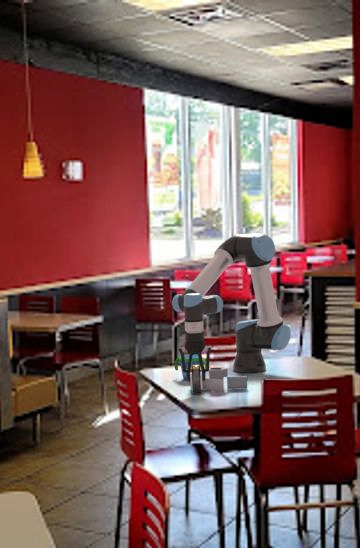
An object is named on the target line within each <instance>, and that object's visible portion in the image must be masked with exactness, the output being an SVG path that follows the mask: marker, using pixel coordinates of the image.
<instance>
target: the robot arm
mask: <svg viewBox="0 0 360 548" xmlns="http://www.w3.org/2000/svg"><path fill="white" fill-rule="evenodd" d="M213 252H214V254H213V257H211V259H210V261H208V263H207V264H206V265H205V266H204V268H203V269H202V270H201V271H200V272H199V273H198V275H197V276H196V278H195V279H193V281H192V283H190V284H189V286H188V287H187V289H185V290H184V292H183V293H182V294H181V293H180V294H179V293H178V294H175V295H174V296H173V298H172V302H171V304H172V308H173V309H174V311H175V312H177V313H178V312H179V313H183V315H184V331H185V334H184V337H185V343H184V345H183V346H182V347H179V349H178V351H179V355H180V356H181V360H182V369H183V372H186V373H187V377H188V380H187V381H188V382H190V391H193V384H192V373H191V372H190V371H191V364H192V356H193V355H195V354H196V355H198V357H199V361H200V366H201V371H202V372H201V373H200V383H201V389H203V381H205V372H206V373H207V372H208V373H209V368H210V362H211V361H210V359H211V358H210V357H211V356H210V355H211V352H212V346H208V345H206V343H205V335H204V333H205V332H204V331H205V330H204V316H207V315H214V314H217V313H220V312H221V311H222V310H223V308H224V301H223V299H222V297H221V296H219V295H218V294H210V295H206V294H207V292H208V291H209V290H210V289H211V287H213V285H214V284H215V283H216V282H217V280H218V279H219V278H220V277H221V275H222V274H223V273H224V271H225V270H226V269H227V268H228V267H231V266H233V265H234V263H235V262H238V261H244V263H245V268H247V269H249V271H250V275H251V282H252V286H253V291H254V297H255V302H256V307H257V313H258V318H259V319H249V320H242V321H238V322H237V323H236V324H235V347H236V348H235V349H236V350H235V352H236V353H235V354H236V355H235V358H234V361H233V364H232V370H233V371H234V372H236V373H246V374H247V373H258V372H260V373H261V372H264V371H266V370H267V367H266V366H267V364H266V362H265V359H264V356H263V352H262V350H270V351H283V350H284V349H286V348H287V347H288V345H289V343H290V341H291V336H292V335H291V333H292V332H291V329H290V327H289V326H288V325H287V324H284V319H283V318H282V317H281V316H280V315H279V311H278V306H277V301H276V295H275V290H274V285H273V279H272V273H271V269H270V265H271V264H272V263H273V261H272V259H274V257H275V253H276V246H275V243H274V241H273V239H272V237H271V236H269V235H267V234H264V233H244V234H243V233H239V234H235V235H232V236H230V237H229V238H228V239H226V240H224V241H223V242H222V243H221V244H220V245H219V246H218V247H217V248H216V250H215V251H213ZM204 350H205V352H206V359H205V360H206V368H204V367H205V365H204V362H203V359H202V357H203V355H202V353H203V352H204ZM185 351H187V352H188V355H189V362H188V369H186V365H185V356H184V355H185Z"/></svg>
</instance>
